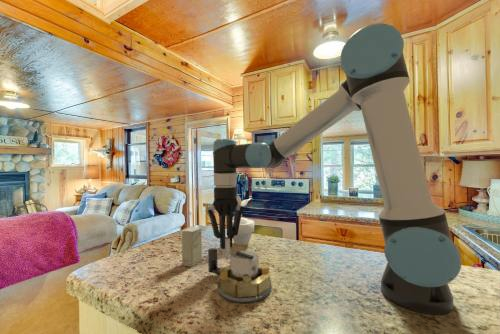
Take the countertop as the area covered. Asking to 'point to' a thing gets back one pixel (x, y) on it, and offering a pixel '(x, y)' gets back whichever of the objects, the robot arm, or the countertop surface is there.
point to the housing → (244, 266)
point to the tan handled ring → (239, 287)
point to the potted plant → (244, 226)
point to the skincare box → (191, 246)
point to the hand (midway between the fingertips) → (226, 257)
